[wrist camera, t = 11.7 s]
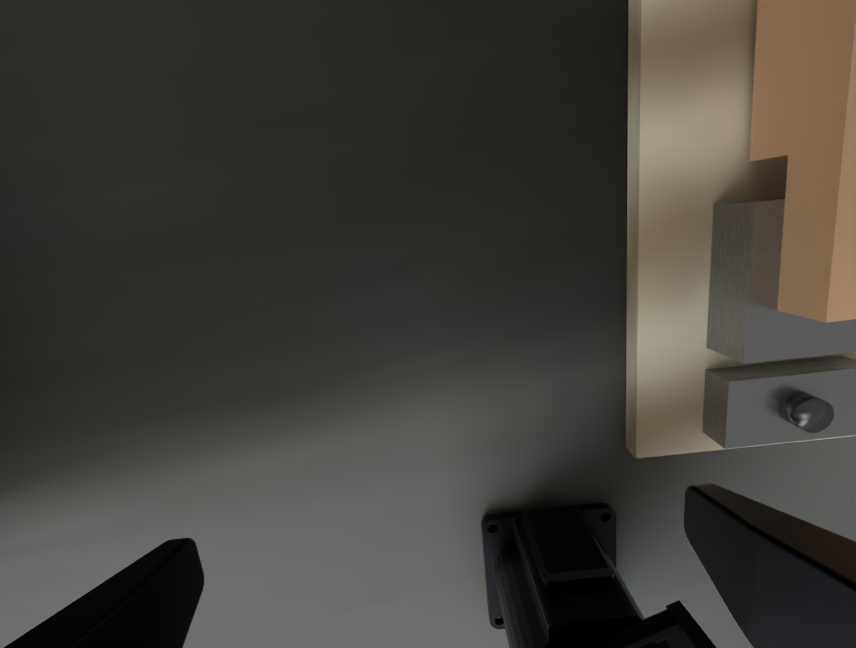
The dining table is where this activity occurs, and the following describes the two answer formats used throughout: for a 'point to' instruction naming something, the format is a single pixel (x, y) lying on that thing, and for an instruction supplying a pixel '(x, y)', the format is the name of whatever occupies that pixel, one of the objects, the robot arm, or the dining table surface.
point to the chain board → (683, 204)
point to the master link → (810, 147)
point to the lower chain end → (769, 342)
